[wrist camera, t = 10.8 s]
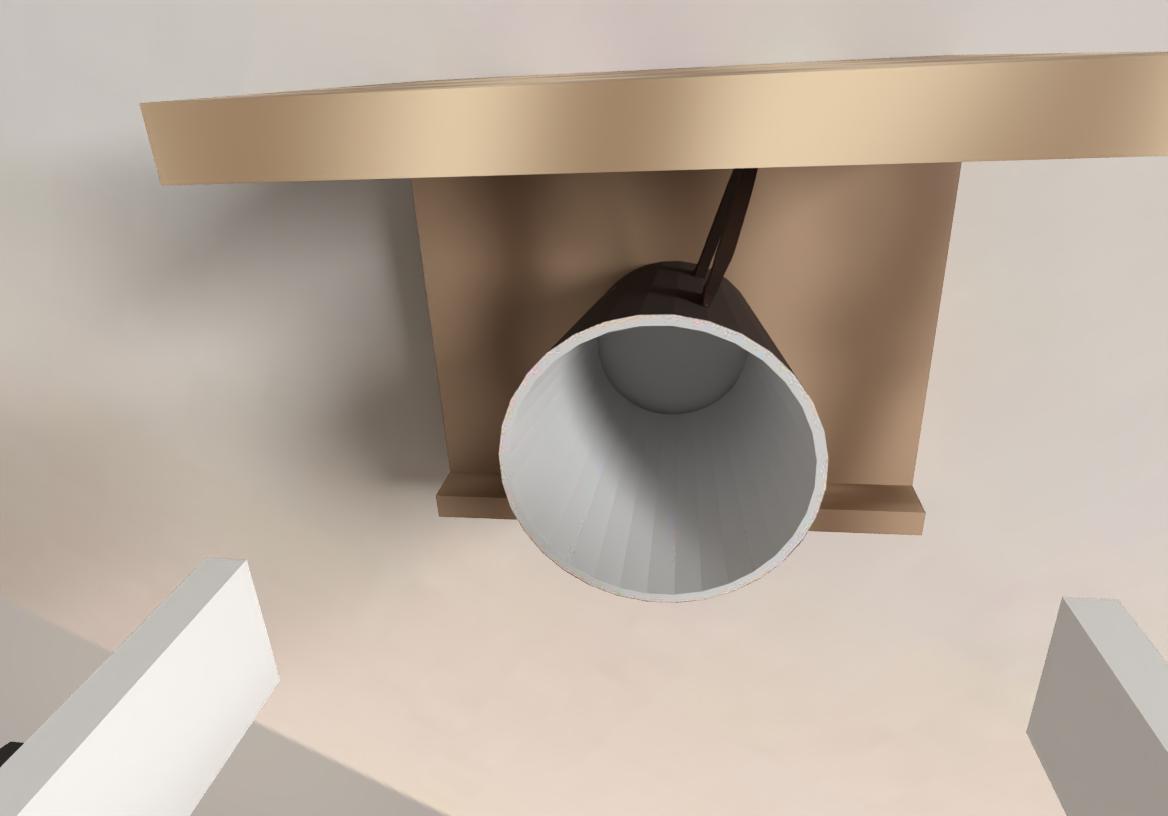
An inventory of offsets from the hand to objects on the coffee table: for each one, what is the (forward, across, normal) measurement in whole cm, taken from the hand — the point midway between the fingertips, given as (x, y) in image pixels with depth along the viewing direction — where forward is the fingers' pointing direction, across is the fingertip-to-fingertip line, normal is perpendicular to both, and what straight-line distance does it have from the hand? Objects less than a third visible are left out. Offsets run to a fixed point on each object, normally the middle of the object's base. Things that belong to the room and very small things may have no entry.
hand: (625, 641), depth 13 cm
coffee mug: (+18, +1, 0) cm, 18 cm away
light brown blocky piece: (+20, 0, 0) cm, 20 cm away
